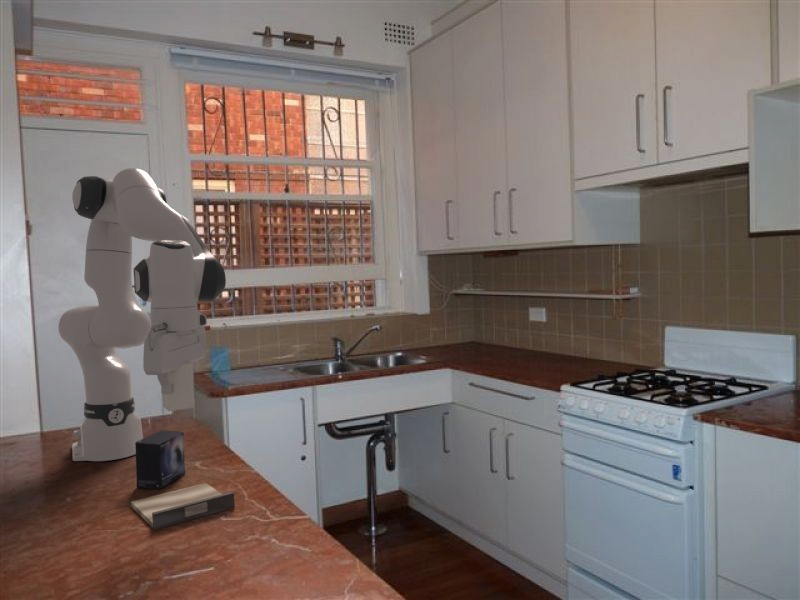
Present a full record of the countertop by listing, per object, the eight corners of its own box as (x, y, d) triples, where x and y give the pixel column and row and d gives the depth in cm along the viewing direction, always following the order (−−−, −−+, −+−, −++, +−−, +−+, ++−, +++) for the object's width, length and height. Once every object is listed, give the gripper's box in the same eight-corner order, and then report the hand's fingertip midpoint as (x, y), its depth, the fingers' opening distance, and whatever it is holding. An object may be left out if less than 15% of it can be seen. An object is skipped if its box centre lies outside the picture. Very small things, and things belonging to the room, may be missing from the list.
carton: (163, 406, 130) (161, 362, 129) (189, 402, 133) (187, 360, 132) (168, 411, 126) (166, 366, 125) (195, 407, 128) (194, 363, 128)
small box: (161, 490, 141) (159, 443, 140) (135, 488, 142) (132, 442, 141) (187, 473, 151) (185, 430, 150) (162, 472, 152) (160, 429, 152)
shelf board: (130, 506, 132) (130, 492, 132) (206, 487, 142) (205, 474, 142) (155, 530, 120) (154, 514, 120) (235, 507, 130) (234, 493, 130)
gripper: (164, 326, 117) (168, 401, 118) (210, 316, 137) (212, 379, 138) (132, 327, 118) (136, 400, 119) (182, 316, 138) (185, 379, 139)
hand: (177, 389), depth 129 cm, fingers closed on carton, 7 cm apart
